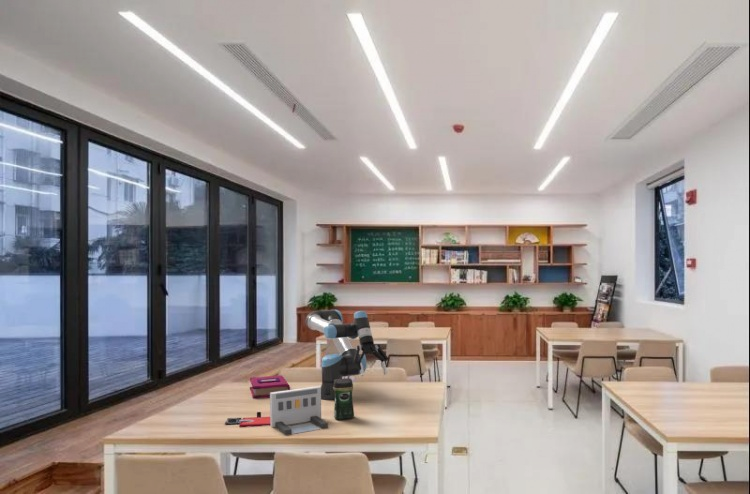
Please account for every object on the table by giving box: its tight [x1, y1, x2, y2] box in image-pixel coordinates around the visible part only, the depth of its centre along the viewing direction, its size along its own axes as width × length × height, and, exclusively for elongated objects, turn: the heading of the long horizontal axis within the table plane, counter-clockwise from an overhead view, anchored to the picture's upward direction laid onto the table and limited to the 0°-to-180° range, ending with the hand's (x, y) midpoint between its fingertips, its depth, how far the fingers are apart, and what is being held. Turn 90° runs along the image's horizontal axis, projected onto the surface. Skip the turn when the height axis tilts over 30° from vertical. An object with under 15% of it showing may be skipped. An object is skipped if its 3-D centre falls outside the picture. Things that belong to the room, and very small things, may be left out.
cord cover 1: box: [274, 421, 292, 436], centre depth 220 cm, size 14×3×2 cm, turn 28°
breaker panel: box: [269, 385, 322, 428], centre depth 232 cm, size 4×24×15 cm, turn 118°
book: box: [249, 374, 291, 400], centre depth 296 cm, size 21×28×8 cm
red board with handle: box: [224, 411, 270, 428], centre depth 235 cm, size 30×3×15 cm
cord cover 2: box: [310, 416, 329, 430], centre depth 228 cm, size 14×3×2 cm, turn 28°
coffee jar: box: [333, 377, 355, 421], centre depth 238 cm, size 10×8×19 cm
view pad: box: [288, 422, 320, 435], centre depth 222 cm, size 11×12×1 cm
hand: (374, 374), depth 261 cm, fingers open, 13 cm apart
